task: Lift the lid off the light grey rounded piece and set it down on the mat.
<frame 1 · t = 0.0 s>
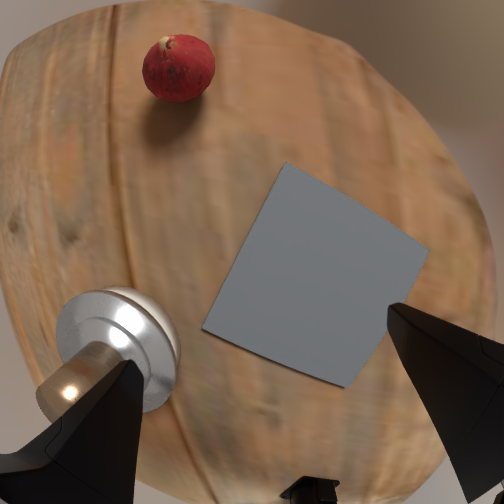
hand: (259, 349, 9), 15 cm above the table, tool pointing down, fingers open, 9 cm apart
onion: (189, 86, 22), on the table
lid: (113, 354, 21), point 4 cm above the table, touching light grey rounded piece
mat: (323, 288, 24), on the table
light grey rounded piece: (130, 336, 25), on the table
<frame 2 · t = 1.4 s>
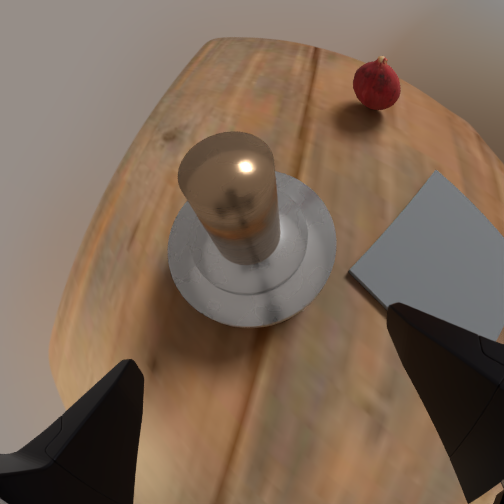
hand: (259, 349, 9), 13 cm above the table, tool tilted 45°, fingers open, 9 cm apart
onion: (371, 109, 30), on the table
lid: (250, 244, 20), point 4 cm above the table, touching light grey rounded piece
mat: (456, 271, 21), on the table
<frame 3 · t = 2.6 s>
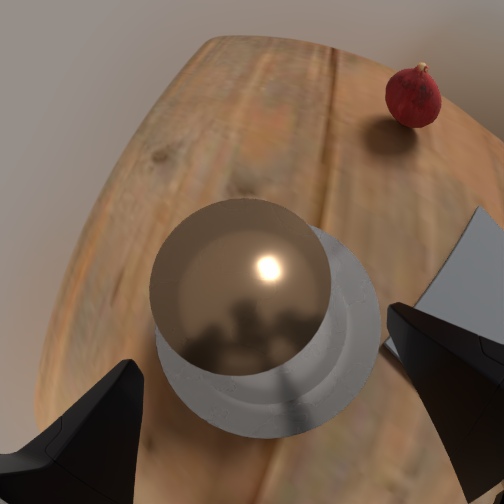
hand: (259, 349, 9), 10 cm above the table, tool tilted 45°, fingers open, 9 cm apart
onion: (404, 125, 24), on the table
lid: (266, 326, 15), point 4 cm above the table, touching light grey rounded piece
mat: (497, 330, 15), on the table
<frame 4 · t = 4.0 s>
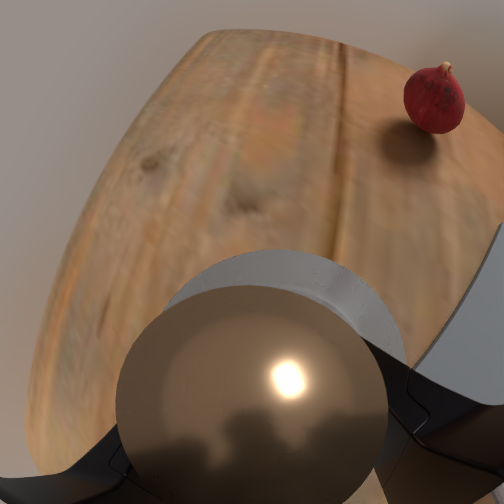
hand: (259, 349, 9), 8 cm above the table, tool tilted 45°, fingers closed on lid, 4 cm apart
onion: (422, 130, 21), on the table
lid: (273, 380, 12), point 4 cm above the table, touching light grey rounded piece, gripper
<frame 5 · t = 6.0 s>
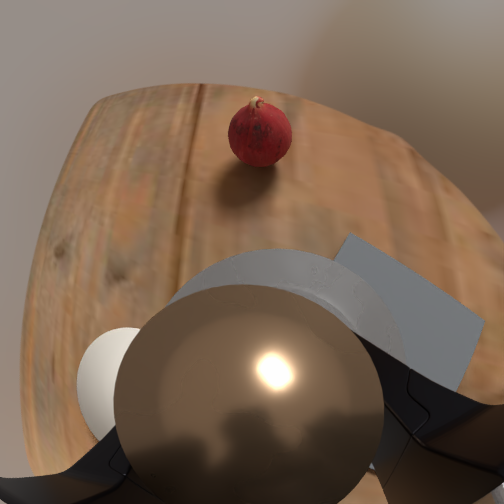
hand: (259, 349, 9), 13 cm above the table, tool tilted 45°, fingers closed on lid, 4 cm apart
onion: (264, 161, 28), on the table
lid: (273, 379, 12), point 9 cm above the table, touching gripper
mat: (382, 363, 19), on the table
light grey rounded piece: (153, 394, 21), on the table
when the fingers open (6 cm above the table, at t = 8.3 s): lid drops 2 cm, resting on mat.
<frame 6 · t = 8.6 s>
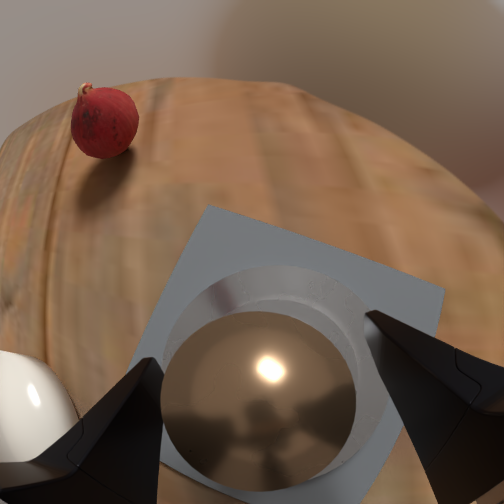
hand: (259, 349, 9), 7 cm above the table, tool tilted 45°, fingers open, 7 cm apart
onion: (124, 151, 22), on the table
lid: (275, 379, 14), point 1 cm above the table, touching mat
mat: (276, 376, 14), on the table
light grey rounded piece: (42, 421, 14), on the table
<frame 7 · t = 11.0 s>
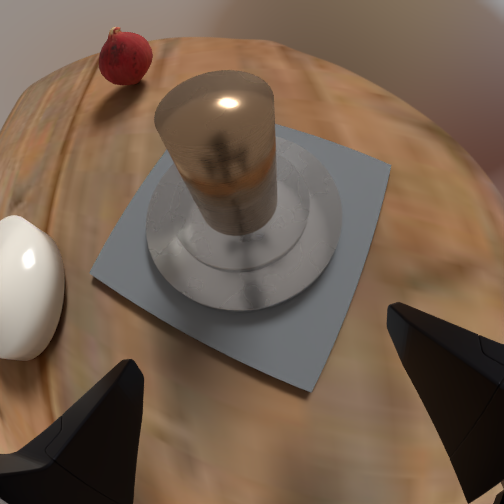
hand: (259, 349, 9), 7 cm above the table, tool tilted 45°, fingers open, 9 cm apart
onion: (137, 84, 25), on the table
lid: (242, 214, 17), point 1 cm above the table, touching mat
mat: (243, 217, 18), on the table
light grey rounded piece: (28, 296, 18), on the table
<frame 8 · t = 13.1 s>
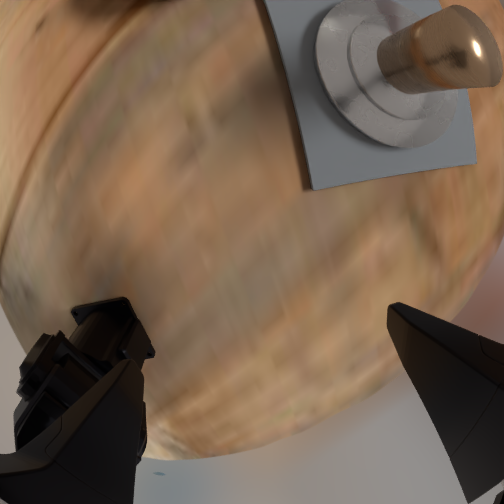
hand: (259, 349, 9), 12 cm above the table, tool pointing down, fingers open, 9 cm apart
lid: (392, 68, 15), point 1 cm above the table, touching mat
mat: (389, 70, 15), on the table
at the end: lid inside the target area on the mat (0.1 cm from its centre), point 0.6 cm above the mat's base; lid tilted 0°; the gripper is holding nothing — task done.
